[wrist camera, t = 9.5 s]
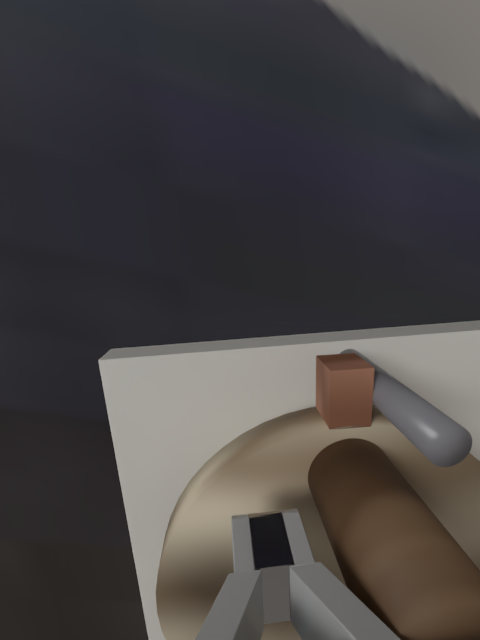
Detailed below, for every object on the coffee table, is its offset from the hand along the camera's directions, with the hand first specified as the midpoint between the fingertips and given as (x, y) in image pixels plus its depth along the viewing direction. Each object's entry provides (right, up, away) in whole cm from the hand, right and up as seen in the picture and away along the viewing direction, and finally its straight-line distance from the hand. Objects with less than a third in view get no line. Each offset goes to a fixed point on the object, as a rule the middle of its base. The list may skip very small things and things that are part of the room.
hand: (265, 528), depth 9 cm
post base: (+3, -4, +8) cm, 9 cm away
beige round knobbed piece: (+3, -3, +4) cm, 6 cm away
